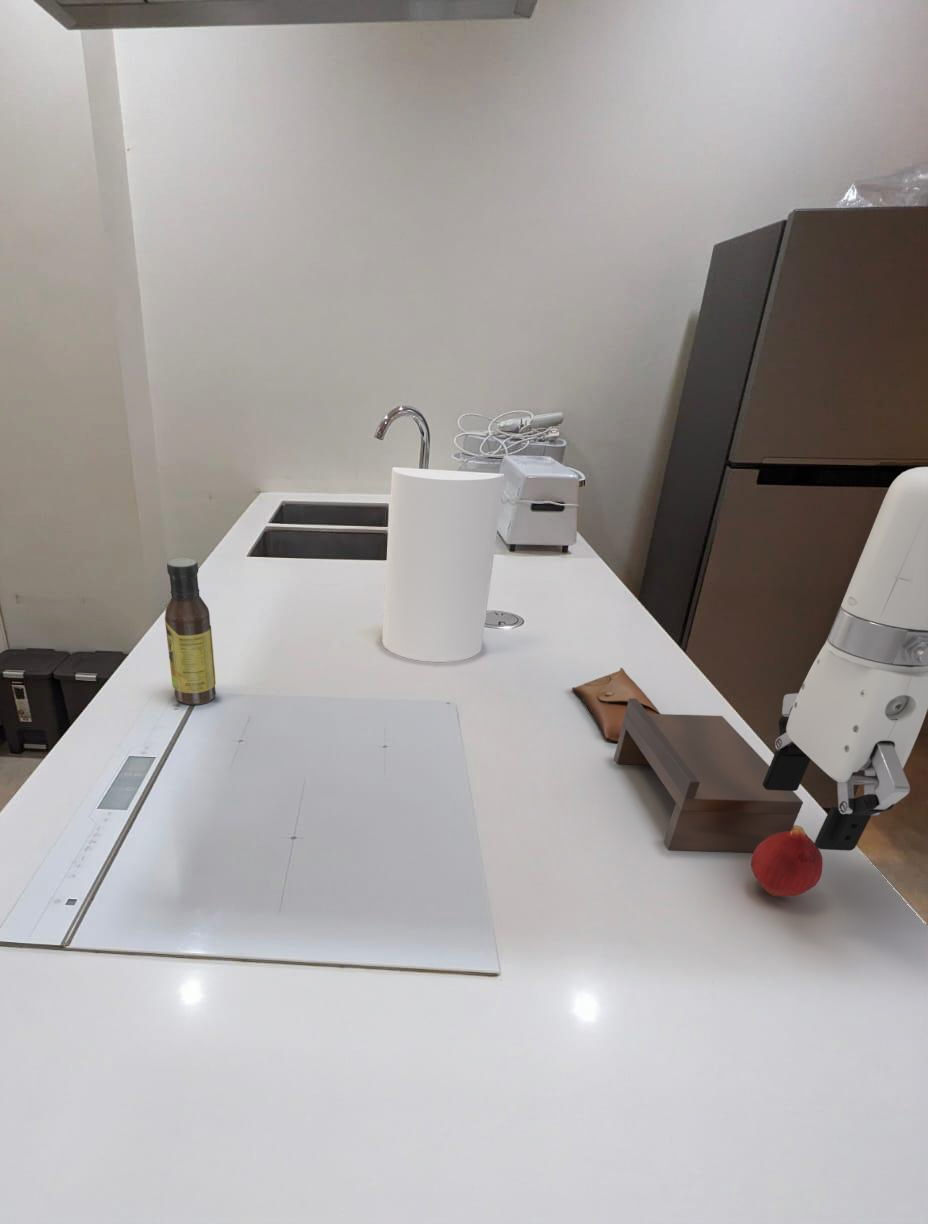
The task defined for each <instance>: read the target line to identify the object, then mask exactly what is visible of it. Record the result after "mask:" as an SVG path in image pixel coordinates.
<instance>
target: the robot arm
mask: <svg viewBox="0 0 928 1224" xmlns="http://www.w3.org/2000/svg"><path fill="white" fill-rule="evenodd" d="M856 564H857V565H856V566H855V569H854V572H853V574H852V577H851V580H850V582H849V584H848V587H847V589H846V591H845V595H844V597H843V600H842V603H841V605H840V606H839V609H838V611H837V614H836V616H835V619H834V621H833V624H832V625H831V628H830V631H829V634H828V635H827V639H826V640H825V643H824V644H823V646H822V648H821V649H820V651H819V653H818V654H817V655H816V657H815V660H814V661H813V662H812V665H811V667H810V669H809V671H808V672H807V675H806V677H805V679H804V681H803V683H802V685H801V687H800V689H799V691H798V692H795V693H786V694H785V695H783V699H782V707H781V715H782V716H781V717H780V718H779V720H778V723H777V724H778V730H779V736H778V737H777V738H776V739H775V741H774V747H775V749H776V750H775V752H774V754H773V756H772V759H771V762H770V764H769V766H770V767H769V769H768V772H767V774H766V777H765V779H764V782H763V784H762V785H763V787H764V788H765V789H766V790H782V791H793V792H795V791H797V790H798V789H799V787H800V785H801V783H802V781H803V778H804V776H805V774H806V771H807V769H808V767H809V764H810V762H811V761H812V762H813V763H814V764H816V766H818V767H819V768H820V769H821V770H822V772H824V773H825V774H826V775H828V776H829V778H831V779H832V780H833V781H835V782H836V787H837V788H836V789H837V806H831V807H830V809H829V810H828V812H827V814H826V817H825V819H824V821H823V823H822V825H821V827H820V830H819V832H818V834H817V836H816V838H815V840H814V843H815V845H816V846H817V847H818V849H819V850H824V851H825V850H826V851H827V850H829V851H849V852H850V851H853V850H855V849H856V847H857V845H858V843H859V841H860V839H861V837H862V836H863V833H864V831H865V829H866V827H867V825H868V823H869V821H870V820H871V817H872V816H875V817H877V816H879V815H880V814H881V813H883V812H886V811H887V812H888V811H890V810H892V809H893V807H894V806H895V805H896V804H897V803H898V802H900V801H901V800H902V799H904V798H905V797H906V796H907V795H909V794H910V791H911V787H910V786H911V785H910V783H909V781H908V778H907V776H906V773H905V771H904V768H905V765H906V764H907V761H908V758H909V757H910V755H911V753H912V750H913V748H914V745H915V743H916V741H917V739H918V736H919V733H920V731H921V729H922V726H923V723H924V720H925V718H926V715H927V712H928V466H918V467H914V468H910V469H907V470H905V471H902V472H901V473H900V474H899V475H898V476H897V477H896V478H895V479H894V480H893V481H892V483H891V484H890V486H889V487H888V489H887V492H886V494H885V496H884V499H883V500H882V502H881V505H880V508H879V510H878V513H877V515H876V518H875V520H874V522H873V525H872V528H871V530H870V533H869V535H868V538H867V540H866V541H865V544H864V547H863V550H862V551H861V555H860V556H859V560H858V562H857V563H856ZM859 771H864V775H861V774H860V775H858V774H857V775H856V774H853V773H858V772H859ZM855 785H856V786H863V795H860V796H857V797H855V791H854V786H855Z"/></svg>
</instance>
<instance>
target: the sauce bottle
mask: <svg viewBox="0 0 928 1224" xmlns="http://www.w3.org/2000/svg"><path fill="white" fill-rule="evenodd" d="M166 570H167V571H166V572H167V573H168V575H169V582H170V584H169V585H170V594H171V595H170V596H171V597H170V600H169V602H168V604H167V606H166V608H165V613H164V624H165V625H164V626H165V631H166V642H167V650H168V658H169V667H170V675H171V676H170V677H171V684H172V688H173V691H174V697H175V699H176V701H178V702H181V703H182V704H186V705H191V706H192V705H193V706H194V705H201V704H203V705H204V704H207V703H210V702H211V701H212V700H214V698H215V697H216V694H217V693H216V691H217V690H216V685H217V684H216V683H217V682H216V681H217V680H216V669H215V658H214V657H215V656H214V655H215V654H214V645H213V632H212V631H213V630H212V626H211V618H210V617H211V615H210V610H209V607H208V606H207V604H206V603H205V601H204V600H203V598H202V597H201V596H200V588H199V580H198V579H199V578H198V573H199V565H198V561H197V560H196V559H194V558H190V557H178V558H173V559H169V560H168V561H167V563H166Z"/></svg>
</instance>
